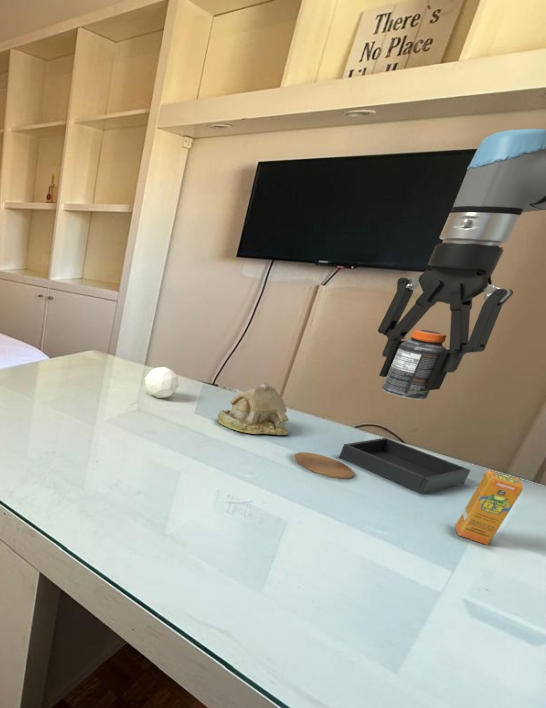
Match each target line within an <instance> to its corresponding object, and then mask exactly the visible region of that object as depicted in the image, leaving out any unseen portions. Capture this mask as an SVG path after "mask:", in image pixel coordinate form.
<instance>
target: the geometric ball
mask: <svg viewBox="0 0 546 708" xmlns="http://www.w3.org/2000/svg"><path fill="white" fill-rule="evenodd" d="M144 386H145V389H146V391H147V392H148V394H149V395H151V396H153V397H155V398H157V399H165V398H166V399H167V398H169V397H170V396H171V395H173V394H174V393H175V392H176V390H177V389H178V388H179V378H178V376H177V374H176V372H175V371H174V370H172V369H171V368H168V367H167V366H160V367H154V368H153V369H151V370H150V371H149V372H148V374H146V376H145V378H144Z"/></svg>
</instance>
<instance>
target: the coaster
mask: <svg viewBox="0 0 546 708" xmlns="http://www.w3.org/2000/svg"><path fill="white" fill-rule="evenodd" d="M293 460H294V462H295V463H297V464H298V465H299V466H300V467H302V468H304V469H307V470H309V471H311V472H313V473H315V474H319V475H321V476H325V477H329V478H334V479H343V480H345V479H351V478H352V477H353V476H354V470H353V469H352V468H351V467H349V466H348V465H346V464H345V463H343V462H341V461H339V460H337V459H334V458H332V457H328V456H325V455H321V454H317V453H312V452H297V453H295V454H294V455H293Z"/></svg>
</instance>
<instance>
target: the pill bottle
mask: <svg viewBox="0 0 546 708" xmlns="http://www.w3.org/2000/svg"><path fill="white" fill-rule="evenodd" d="M447 336H448V335H447V334H446V333H443V332H438V331H432V330H428V329H427V330H426V329H414V331H413V332H412V334H411V337H410V339H408V340H404V341H405V342H403V343H401V344H400V346H399V349H398V351H397V353H396V356H395V358H394V360H393V363H392V365H391V367H390V370H389V372H388V374H387V377H385V379H384V381H383V384H382V386H381V389H382V390H383V391H384V392H386V393H387V394H390V395H393V396H397V397H400V398H405V399H411V400H425V399H427V397H428V396H429V395H430V394H429V393H430V392H431V390H428V389H424V388H425V386H426V384H427V382H428V380H429V378H430V376H431V373H432V371H433V369H434V367H435V365H436V363H437V360H438V358H439V356H440V354H441V352H442V351H447V350H448V349H447V348H446V347H445V346H443V344H444V343H445V342H446V338H447Z"/></svg>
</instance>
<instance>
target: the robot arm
mask: <svg viewBox="0 0 546 708" xmlns="http://www.w3.org/2000/svg"><path fill="white" fill-rule="evenodd" d="M537 211H538V212H539V211H546V129H544V128H519V129H511V130H510V129H509V130H503V131H498V132H495V133H492V134H490V135H488V136H486V137H485V138H484V139H483V140H481V142H480V144H479V146H478V147H477V149H476V151H475V153H474V155H473V157H472V159H471V161H470V163H469V165H468V166H467V168H466V173H465V175H464V178H463V181H462V182H461V185H460V187H459V191H458V193H457V195H456V198H455V201H454V203H453V206H452V208H451V210H450V212H449V214H448V217H447V219H446V221H445V224H444V226H443V228H442V230H441V232H440V235H439V237H438V238H439V239H440V240H442V242H441V243H437V244H436V245H435V246H434V249H433V251H432V254H431V256H430V258H429V260H428V262H427V266H426V269H425V271H423V272H422V273H421V274H420V275H419V276H414V277H413V276H412V277H399V278H398V279H397V282H396V292H395V294H394V296H393V298H392V299H391V302H390V304H389V306H388V308H387V310H386V312H385V314H384V317H383V319H381V322H380V324H379V326H378V329H377V333H378V334H382V335H383V336H385V337H386V338H387V341H386V343H385V346H384V348H383V351H382V353H381V354H382V357H384V358H385V360H384V363H383V364H382V367H381V370H380V372H379V375H378V376H379V377H382V378H386V377H387V374H388V372H389V370H390V367H391V365H392V363H393V360H394V358H395V356H396V353H397V351H398V349H399V346H400V344H401V343H403V342H405V341H406V340H405V339H407V337H406V336H407V335H408V334H409V332H410V331H411V330H412V329H413V328H414V327H415V326H416V324H418V323H419V321H420V320H421V319H422V318H423V317H424V316H425V314H427V312H428V311H429V309H431V308H432V307H433V306H435V305H436V304H437V303H443V304H446V305H449V310H450V329H449V330H450V331H449V348H448V349H447V351H442V352H441V354H440V356H439V358H438V360H437V363H436V365H435V367H434V369H433V371H432V373H431V376H430V378H429V380H428V382H427V384H426V386H425V388H424V389H428V390H430V391H434V390H440V389H441V386H442V384H443V382H444V380H445V378H446V376H447V374H448V373H454V372H456V371H457V370H458V368H459V366H460V363H461V362H462V359H463V357H464V356H465V355H466V354H468V353H481V352H483V351H485V350H486V347H487V345H488V342H489V340H490V337H491V335H492V332H493V330H494V327H495V325H496V323H497V320H498V317H499V315H500V312H501V310H502V307H503V305H504V304H505V303H506V302H507V301H508V300H509V299H510V298H511V297H512V296H513V294H514V290H512V289H510V288H502V287H500V286H497V285H494V284H492V283H493V282H492V275H493V273H494V271H495V270H496V268H497V265H498V263H499V261H500V259H501V257H502V255H503V253H504V250H505V249H503V247H502V246H501V245H502V244H506V243H508V242H509V241H510V239H511V236H512V234H513V233H514V229H515V227H516V225H517V223H518V222H519V219H520V217H521V215H522V213H523V214H524V213H530V212H537ZM419 285H420V288H421V290H422V293H421V294H420V295H419V297H418V298H416V300H415V303H414V304H413V306H411V308H410V309H409V310H408V311H407V313H406V314H405V315H404V316H403V313H404V312H405V310H406V308H407V307H408V304H409V302H410V300H411V299H412V296H413V294H414V291H415V290H416V289H418V286H419ZM482 293H484V296H483V298H484V300H485V301H484V303H483V304H482V305H481V308H480V311H479V314H478V316H477V319H476V322H475V323H474V327H473V329H472V331H471V334H470V315H471V310H472V308H473V299H474V298H476V297H477V296H479V295H481V294H482ZM402 316H403V317H402Z"/></svg>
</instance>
